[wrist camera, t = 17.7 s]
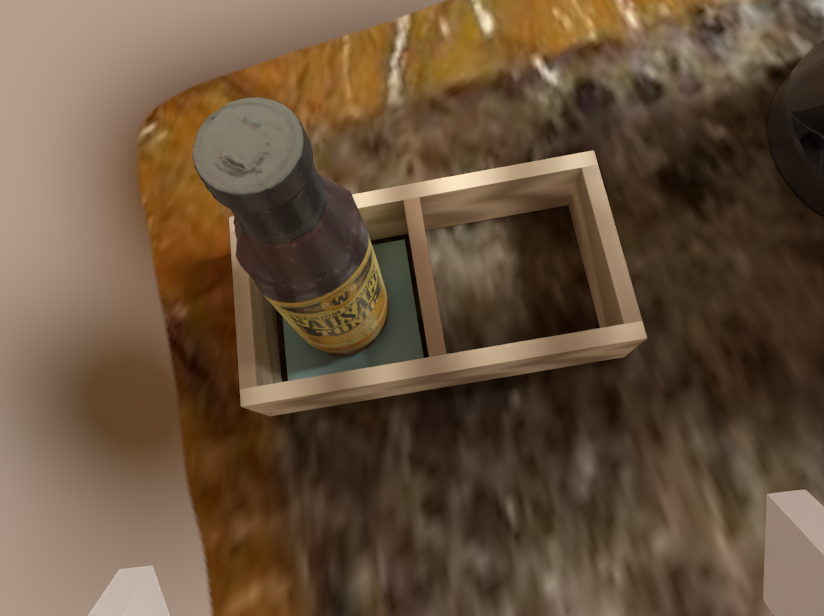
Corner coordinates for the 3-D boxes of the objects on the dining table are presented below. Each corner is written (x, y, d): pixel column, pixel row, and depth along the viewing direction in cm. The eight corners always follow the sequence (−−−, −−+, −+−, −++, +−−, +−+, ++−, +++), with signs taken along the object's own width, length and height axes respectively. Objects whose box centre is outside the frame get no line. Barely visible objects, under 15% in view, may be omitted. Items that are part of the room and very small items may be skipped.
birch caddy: (579, 189, 40) (593, 150, 36) (624, 357, 37) (647, 338, 32) (256, 247, 41) (229, 217, 37) (269, 416, 38) (240, 406, 33)
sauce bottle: (329, 378, 38) (190, 272, 19) (284, 302, 40) (115, 136, 21) (414, 323, 38) (361, 167, 19) (365, 251, 40) (273, 44, 21)
